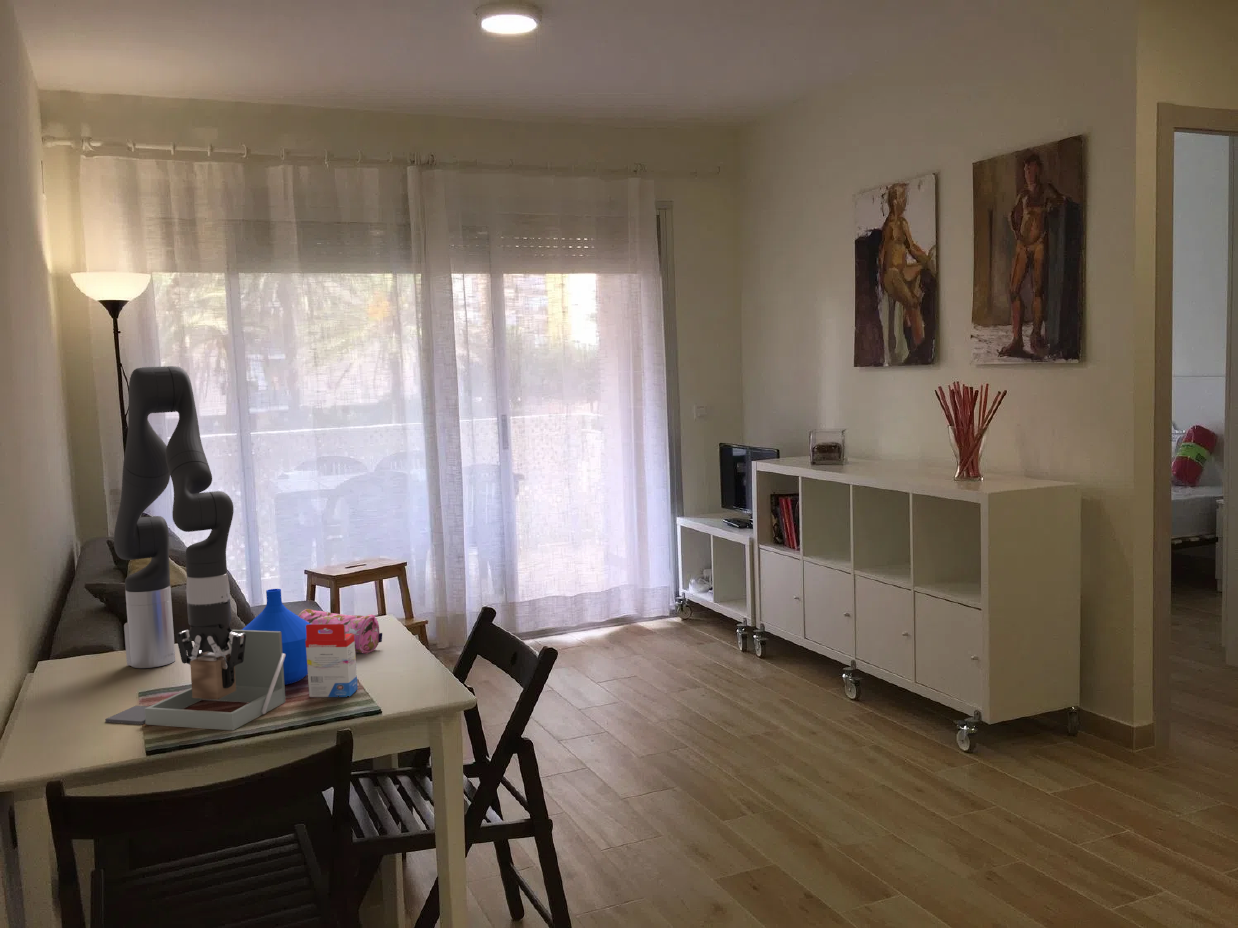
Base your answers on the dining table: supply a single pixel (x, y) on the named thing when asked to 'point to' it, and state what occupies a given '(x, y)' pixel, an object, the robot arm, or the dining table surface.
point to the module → (208, 678)
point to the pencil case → (349, 627)
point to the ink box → (330, 661)
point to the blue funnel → (284, 634)
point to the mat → (129, 716)
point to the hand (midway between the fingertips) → (214, 685)
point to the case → (254, 686)
